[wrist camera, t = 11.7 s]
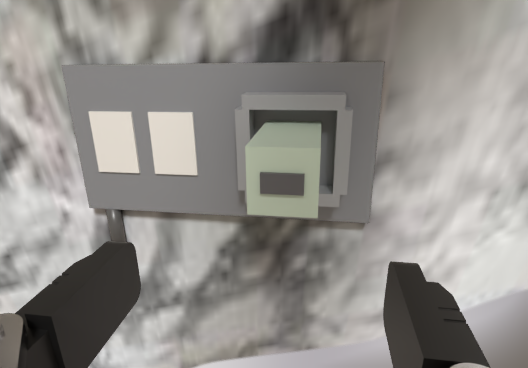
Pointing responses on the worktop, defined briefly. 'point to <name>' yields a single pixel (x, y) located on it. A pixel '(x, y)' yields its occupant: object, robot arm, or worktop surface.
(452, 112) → the worktop surface
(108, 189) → the power strip
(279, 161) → the block
